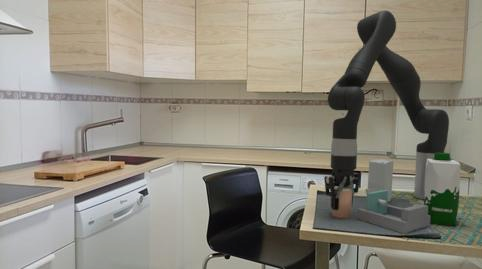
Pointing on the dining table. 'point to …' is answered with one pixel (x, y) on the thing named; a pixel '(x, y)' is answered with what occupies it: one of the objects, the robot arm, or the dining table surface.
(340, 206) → the jar
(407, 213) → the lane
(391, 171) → the skincare box
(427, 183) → the milk carton
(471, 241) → the dining table surface
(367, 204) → the plate
